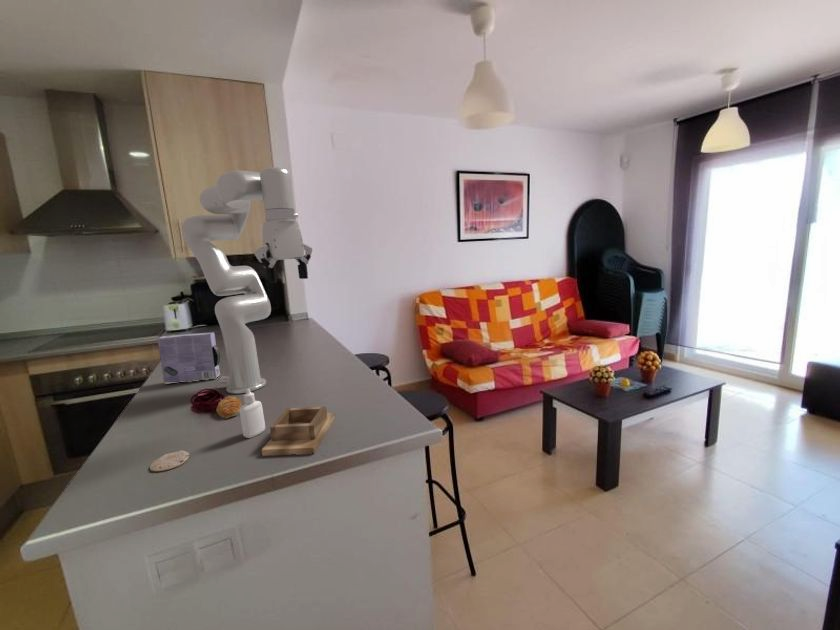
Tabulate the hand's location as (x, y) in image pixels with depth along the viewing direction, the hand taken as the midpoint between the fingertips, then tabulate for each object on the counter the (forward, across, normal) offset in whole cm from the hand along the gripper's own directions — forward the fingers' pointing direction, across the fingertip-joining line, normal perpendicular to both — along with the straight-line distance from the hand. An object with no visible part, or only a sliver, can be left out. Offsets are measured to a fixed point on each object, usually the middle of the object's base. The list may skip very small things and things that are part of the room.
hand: (288, 280), depth 106 cm
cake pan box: (+37, +6, -59) cm, 70 cm away
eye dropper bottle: (+37, +17, +2) cm, 41 cm away
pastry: (+38, +14, -17) cm, 44 cm away
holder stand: (+37, +12, +14) cm, 41 cm away
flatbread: (+38, +35, -3) cm, 52 cm away
